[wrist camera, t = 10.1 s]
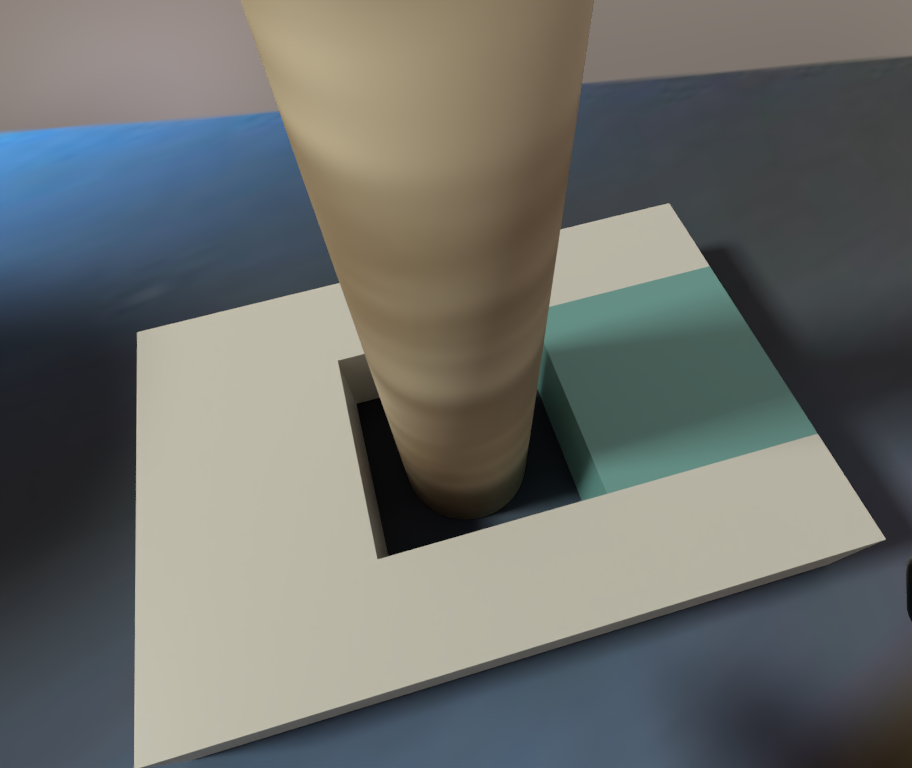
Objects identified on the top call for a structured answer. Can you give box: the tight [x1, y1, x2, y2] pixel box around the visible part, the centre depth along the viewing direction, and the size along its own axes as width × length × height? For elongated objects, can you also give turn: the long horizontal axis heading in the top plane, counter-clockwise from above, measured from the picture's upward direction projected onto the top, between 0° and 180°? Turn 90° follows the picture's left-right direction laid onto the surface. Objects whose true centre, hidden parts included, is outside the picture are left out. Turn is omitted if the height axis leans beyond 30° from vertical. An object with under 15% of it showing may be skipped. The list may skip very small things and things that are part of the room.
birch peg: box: [241, 0, 594, 520], centre depth 10 cm, size 3×3×14 cm
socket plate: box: [134, 203, 886, 768], centre depth 15 cm, size 16×11×2 cm, turn 105°
